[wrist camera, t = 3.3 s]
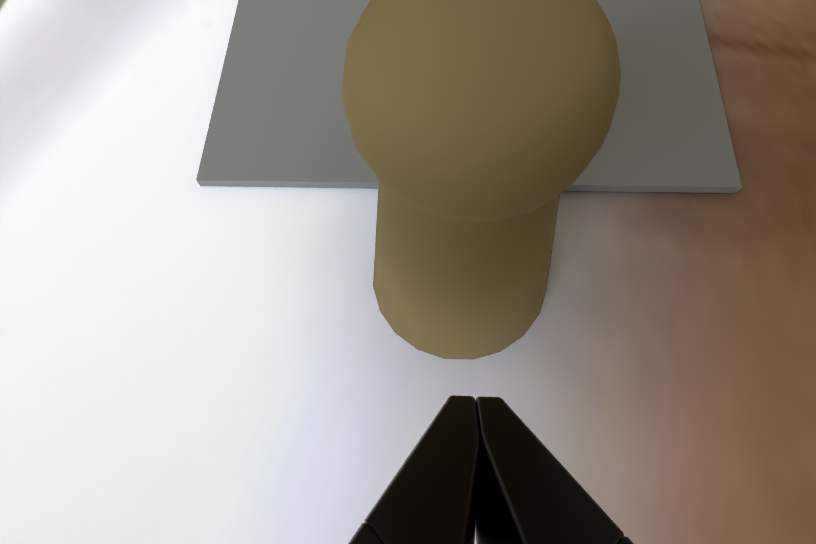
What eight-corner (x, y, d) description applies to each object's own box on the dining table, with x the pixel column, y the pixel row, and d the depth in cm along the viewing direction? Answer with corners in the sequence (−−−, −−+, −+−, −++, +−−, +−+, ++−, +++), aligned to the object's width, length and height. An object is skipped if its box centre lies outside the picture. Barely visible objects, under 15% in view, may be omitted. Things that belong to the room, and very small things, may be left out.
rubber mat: (736, 192, 20) (742, 187, 19) (200, 185, 21) (196, 180, 21) (672, -95, 26) (675, -103, 26) (263, -87, 27) (260, -95, 27)
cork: (338, 272, 19) (228, 15, 9) (459, 171, 21) (481, -148, 11) (458, 398, 17) (488, 247, 7) (583, 277, 19) (754, 9, 9)
